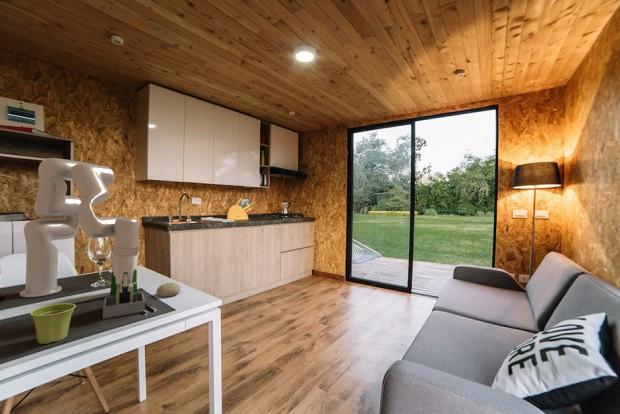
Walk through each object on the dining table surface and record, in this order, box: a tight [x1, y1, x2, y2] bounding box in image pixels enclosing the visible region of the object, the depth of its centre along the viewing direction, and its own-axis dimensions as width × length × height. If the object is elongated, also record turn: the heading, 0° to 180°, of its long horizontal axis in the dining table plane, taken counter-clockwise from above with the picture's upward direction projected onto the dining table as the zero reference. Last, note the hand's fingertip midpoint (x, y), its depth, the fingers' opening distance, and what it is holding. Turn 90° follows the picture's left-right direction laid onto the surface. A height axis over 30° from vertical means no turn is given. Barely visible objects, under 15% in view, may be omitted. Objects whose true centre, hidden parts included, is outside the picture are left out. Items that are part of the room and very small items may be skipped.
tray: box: [102, 291, 146, 320], centre depth 99 cm, size 12×12×4 cm
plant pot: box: [30, 302, 77, 345], centre depth 77 cm, size 9×9×9 cm
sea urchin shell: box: [156, 282, 181, 298], centre depth 117 cm, size 9×8×8 cm
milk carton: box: [109, 251, 140, 296], centre depth 117 cm, size 9×9×20 cm
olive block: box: [115, 283, 133, 305], centre depth 99 cm, size 5×5×6 cm
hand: (124, 299), depth 99 cm, fingers closed on olive block, 5 cm apart
